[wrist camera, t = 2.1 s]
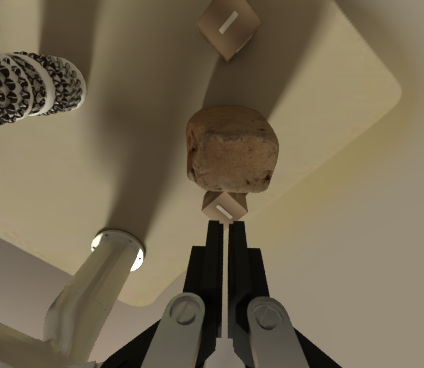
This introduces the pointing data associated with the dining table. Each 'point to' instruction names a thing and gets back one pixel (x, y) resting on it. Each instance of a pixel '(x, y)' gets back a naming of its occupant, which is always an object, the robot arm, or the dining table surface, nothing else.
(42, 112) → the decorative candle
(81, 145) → the dining table surface
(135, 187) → the dining table surface
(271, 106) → the dining table surface
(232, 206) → the walnut cube
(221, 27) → the walnut cube
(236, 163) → the block
